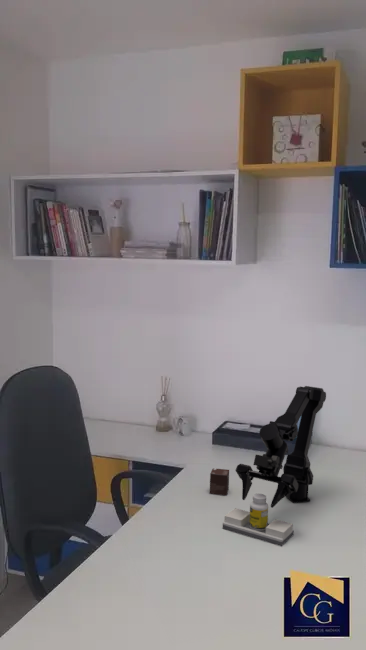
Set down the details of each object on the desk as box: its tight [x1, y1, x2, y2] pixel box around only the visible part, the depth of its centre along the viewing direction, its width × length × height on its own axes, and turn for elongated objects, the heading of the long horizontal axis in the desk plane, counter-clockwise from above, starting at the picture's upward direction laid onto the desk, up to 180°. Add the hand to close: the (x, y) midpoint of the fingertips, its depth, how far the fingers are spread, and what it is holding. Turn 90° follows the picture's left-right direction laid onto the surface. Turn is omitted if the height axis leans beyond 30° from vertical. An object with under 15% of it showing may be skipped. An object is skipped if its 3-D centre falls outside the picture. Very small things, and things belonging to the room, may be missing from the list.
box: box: [209, 467, 230, 496], centre depth 211 cm, size 6×6×7 cm
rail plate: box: [222, 507, 295, 547], centre depth 181 cm, size 19×9×4 cm, turn 58°
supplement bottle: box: [249, 493, 269, 531], centre depth 181 cm, size 5×5×10 cm
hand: (257, 503), depth 179 cm, fingers open, 9 cm apart
